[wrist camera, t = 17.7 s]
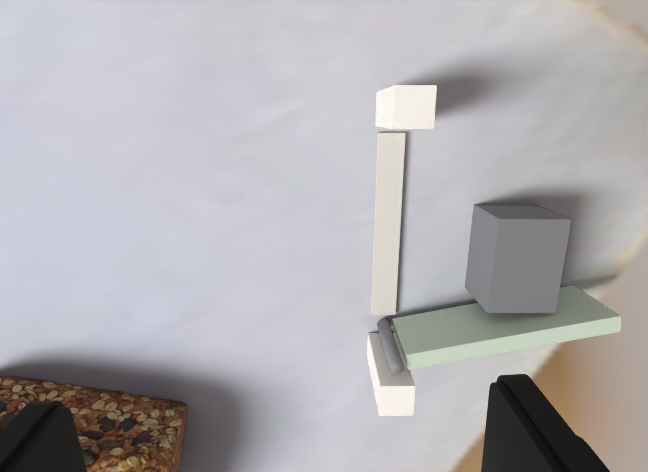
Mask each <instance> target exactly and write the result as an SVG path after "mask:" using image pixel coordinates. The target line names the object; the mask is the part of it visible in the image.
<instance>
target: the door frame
mask: <svg viewBox="0 0 648 472" xmlns="http://www.w3.org/2000/svg"><path fill="white" fill-rule="evenodd" d="M436 91H437V85H393V86H391V87H388V88H386V89H383V90H381V91H378V92H377V99H376V126H379V127H385V128H391V129H434V119H435V105H436ZM405 134H406V133H378V145H377V171H376V198H375V224H374V251H373V277H372V304H371V314H372V315H396V298H397V280H398V262H399V243H400V225H401V207H402V189H403V170H404V152H405ZM393 336H394V339H395V342H396V345H397V348H398V350H399V353H400V356H401V359H402V362H403V365H404V370H403V371H402V372H401V373H399V374H394V373H392V372H391V371H390V368H389V364H388V361H387V357H386V354H385V351H384V347H383V344H382V340H381V337H380V333H368V349H367V359H368V364H369V369H370V374H371V379H372V383H373V388H374V393H375V398H376V403H377V408H378V412H379V416H413V411H414V397H415V384H414V381H413V378H412V376H411V373H410V370H408V368H407V365H406V362H405V359H404V357H403V354H402V351H401V348H400V345H399V343H398V340H397V337H396V334H395V333H393Z"/></svg>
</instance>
